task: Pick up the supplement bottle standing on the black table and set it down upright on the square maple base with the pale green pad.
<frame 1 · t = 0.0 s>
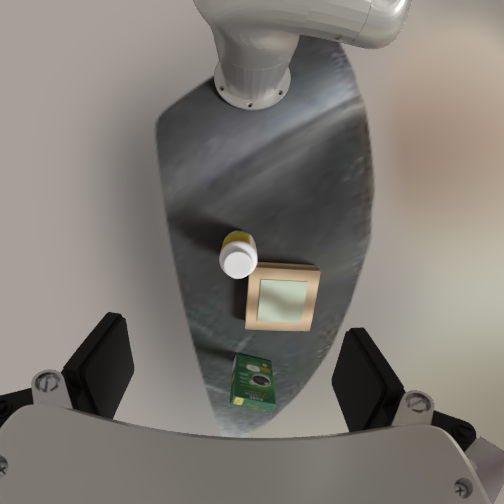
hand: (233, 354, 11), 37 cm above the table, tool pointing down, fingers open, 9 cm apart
supplement bottle: (239, 245, 48), on the table
coffee box: (251, 360, 55), on the table
base: (279, 294, 50), on the table
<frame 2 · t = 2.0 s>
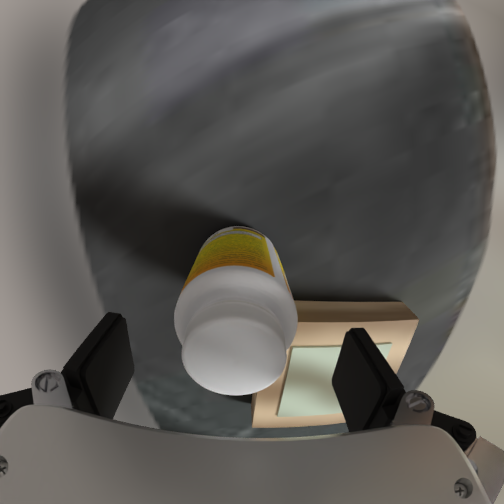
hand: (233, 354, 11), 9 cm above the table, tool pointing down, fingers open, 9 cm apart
supplement bottle: (238, 262, 19), on the table
base: (324, 360, 22), on the table
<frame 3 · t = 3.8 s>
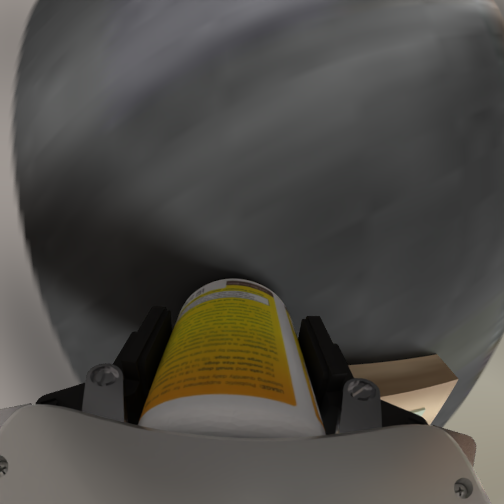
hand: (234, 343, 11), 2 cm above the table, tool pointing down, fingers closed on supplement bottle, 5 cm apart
supplement bottle: (235, 323, 14), on the table, touching gripper
base: (341, 423, 16), on the table
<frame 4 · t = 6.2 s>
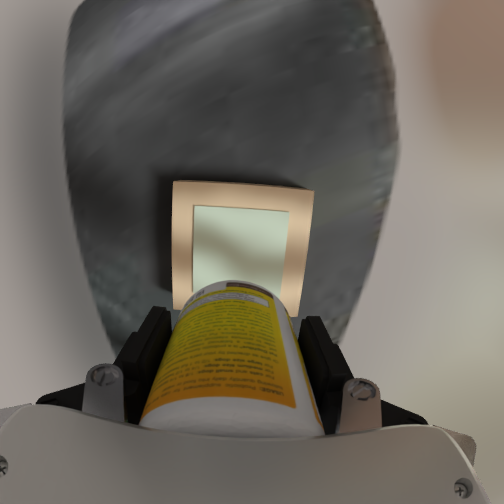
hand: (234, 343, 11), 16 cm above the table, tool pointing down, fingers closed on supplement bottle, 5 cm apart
supplement bottle: (235, 324, 14), point 14 cm above the table, touching gripper
base: (239, 244, 27), on the table
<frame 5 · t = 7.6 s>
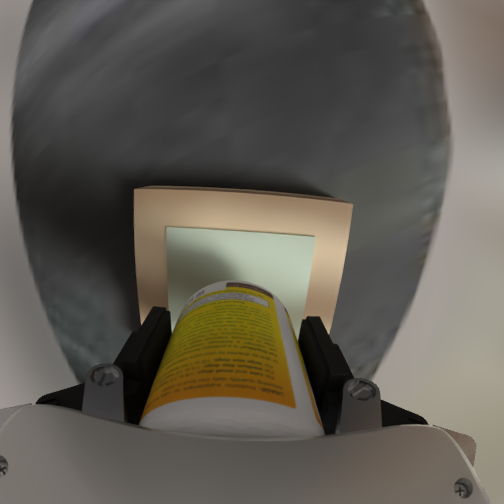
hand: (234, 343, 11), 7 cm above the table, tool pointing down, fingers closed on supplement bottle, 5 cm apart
supplement bottle: (235, 325, 14), point 5 cm above the table, touching gripper
base: (237, 279, 19), on the table
when the fingers open (7 cm above the table, at t = 8.6 s): supplement bottle drops 2 cm, resting on base.
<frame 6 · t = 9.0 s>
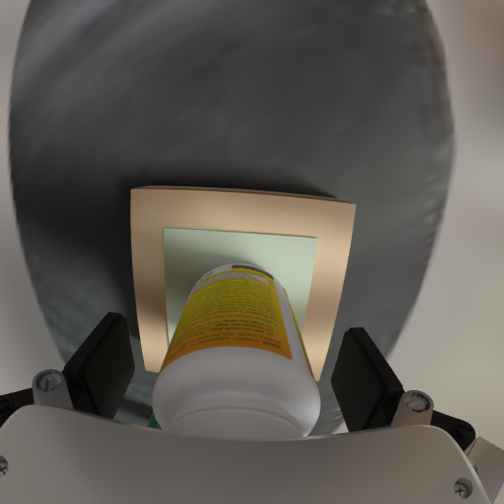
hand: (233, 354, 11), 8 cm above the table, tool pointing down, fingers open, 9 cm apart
supplement bottle: (239, 305, 15), point 3 cm above the table, touching base
base: (237, 281, 18), on the table
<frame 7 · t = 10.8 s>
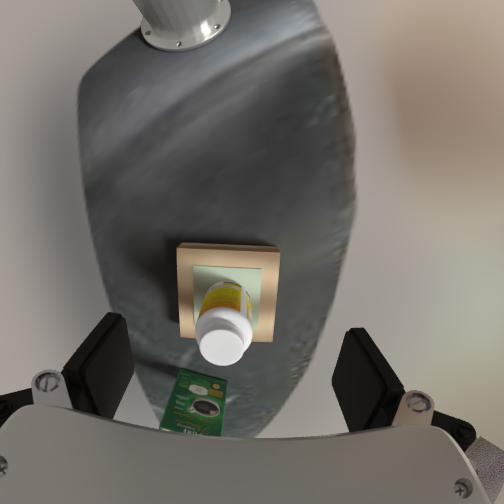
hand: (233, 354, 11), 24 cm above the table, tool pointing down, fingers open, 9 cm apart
supplement bottle: (227, 300, 33), point 3 cm above the table, touching base
coffee box: (201, 379, 40), on the table
base: (228, 289, 36), on the table
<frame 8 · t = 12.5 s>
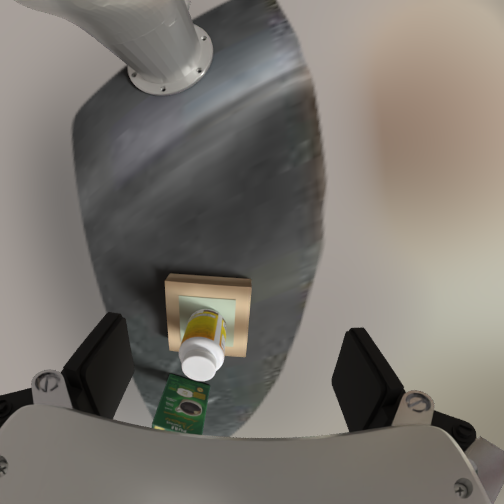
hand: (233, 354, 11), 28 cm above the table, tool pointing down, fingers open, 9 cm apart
supplement bottle: (208, 323, 39), point 3 cm above the table, touching base
coffee box: (188, 382, 46), on the table
base: (209, 312, 42), on the table
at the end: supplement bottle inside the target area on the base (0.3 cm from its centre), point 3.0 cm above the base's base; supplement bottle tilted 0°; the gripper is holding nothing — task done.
